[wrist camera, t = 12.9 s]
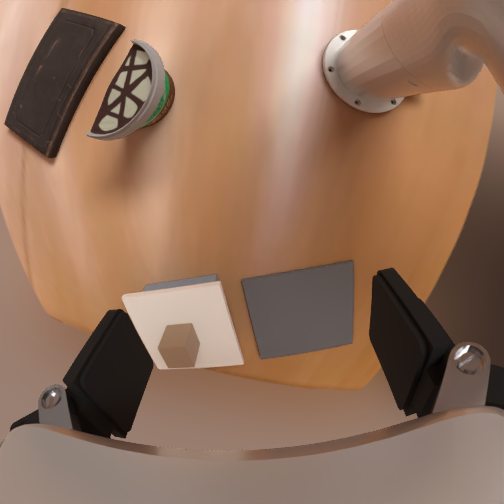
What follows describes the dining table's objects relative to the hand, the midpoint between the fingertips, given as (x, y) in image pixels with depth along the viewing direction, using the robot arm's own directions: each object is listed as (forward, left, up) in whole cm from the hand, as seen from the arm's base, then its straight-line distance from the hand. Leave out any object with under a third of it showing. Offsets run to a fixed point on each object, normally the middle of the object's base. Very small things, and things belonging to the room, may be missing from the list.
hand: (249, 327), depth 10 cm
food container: (+10, -14, -28) cm, 33 cm away
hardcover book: (+27, -26, -29) cm, 48 cm away
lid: (+14, +18, -23) cm, 32 cm away
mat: (-4, +22, -28) cm, 36 cm away
